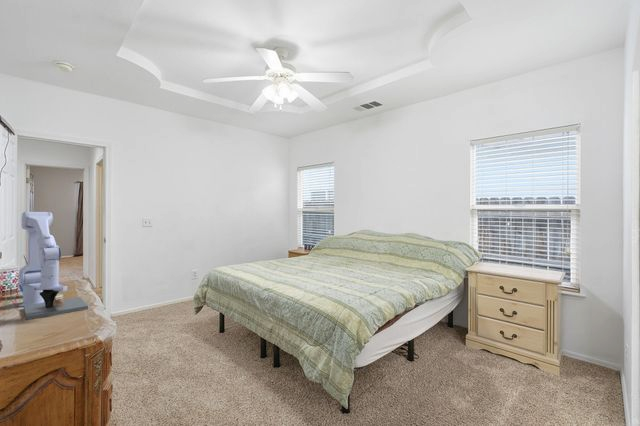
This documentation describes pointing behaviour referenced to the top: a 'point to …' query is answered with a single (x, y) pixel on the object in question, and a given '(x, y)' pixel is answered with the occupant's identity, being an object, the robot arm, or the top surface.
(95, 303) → the top surface
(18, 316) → the top surface
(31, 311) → the latch plate
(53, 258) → the robot arm
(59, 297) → the grey beige handled piece
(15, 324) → the top surface
